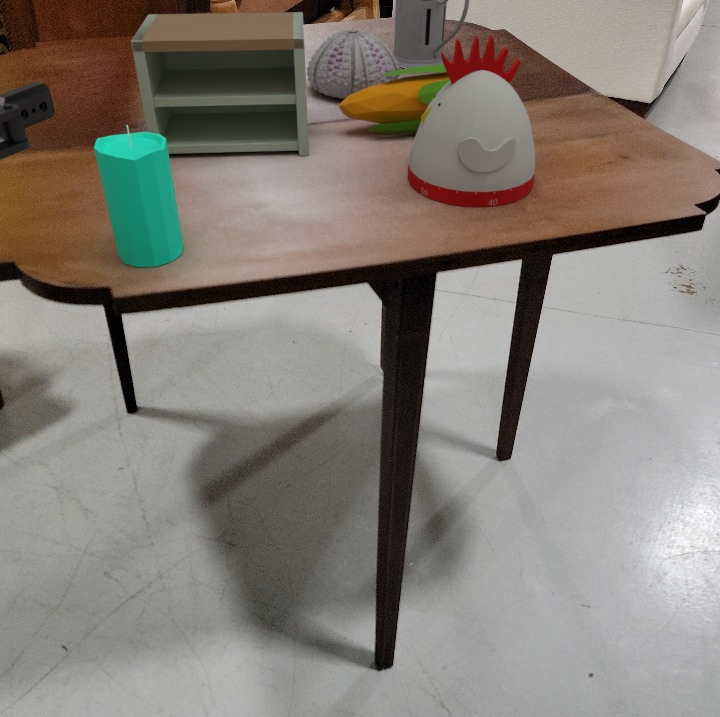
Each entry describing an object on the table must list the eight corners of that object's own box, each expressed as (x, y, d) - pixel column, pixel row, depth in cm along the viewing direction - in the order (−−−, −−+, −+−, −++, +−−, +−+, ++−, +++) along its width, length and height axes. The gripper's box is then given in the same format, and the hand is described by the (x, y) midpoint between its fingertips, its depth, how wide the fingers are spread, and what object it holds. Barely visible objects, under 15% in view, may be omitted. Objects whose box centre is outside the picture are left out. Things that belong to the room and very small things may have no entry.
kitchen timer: (400, 157, 87) (405, 21, 77) (514, 153, 88) (532, 18, 78) (418, 209, 76) (427, 58, 66) (548, 204, 77) (574, 54, 68)
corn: (504, 67, 89) (346, 81, 84) (499, 130, 93) (348, 146, 89) (479, 55, 95) (330, 67, 90) (475, 115, 99) (333, 129, 95)
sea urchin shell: (348, 112, 99) (348, 50, 94) (287, 88, 107) (284, 29, 102) (417, 91, 106) (420, 32, 101) (356, 70, 114) (356, 15, 109)
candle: (107, 264, 67) (76, 135, 59) (134, 233, 71) (109, 110, 64) (169, 270, 66) (146, 141, 58) (193, 239, 70) (174, 115, 63)
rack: (152, 159, 86) (130, 40, 78) (165, 123, 95) (148, 14, 87) (309, 155, 87) (304, 38, 79) (307, 120, 96) (302, 11, 88)
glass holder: (419, 51, 122) (425, -50, 113) (481, 71, 114) (492, -37, 104) (379, 60, 118) (381, -44, 109) (440, 82, 109) (448, -30, 100)
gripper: (-290, 215, 43) (-55, 127, 54) (-125, 270, 38) (94, 160, 49) (-367, 83, 38) (-93, 18, 50) (-191, 126, 33) (67, 42, 45)
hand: (0, 89), depth 49 cm, fingers open, 8 cm apart
